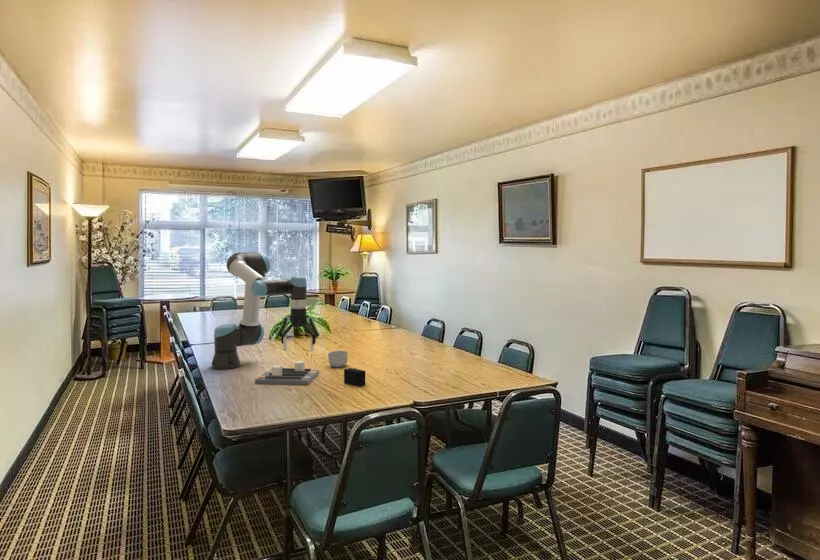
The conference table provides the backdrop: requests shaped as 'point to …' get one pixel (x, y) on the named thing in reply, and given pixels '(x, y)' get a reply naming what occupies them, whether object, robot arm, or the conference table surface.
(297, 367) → the slider far
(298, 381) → the switch base
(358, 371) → the digital camera
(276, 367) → the slider near
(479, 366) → the conference table surface
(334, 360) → the teacup
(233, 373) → the conference table surface
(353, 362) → the conference table surface
